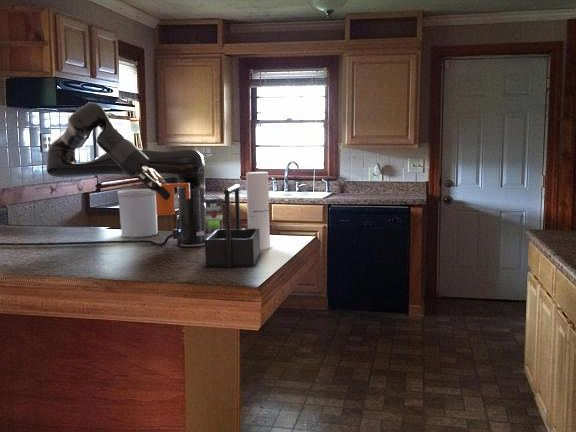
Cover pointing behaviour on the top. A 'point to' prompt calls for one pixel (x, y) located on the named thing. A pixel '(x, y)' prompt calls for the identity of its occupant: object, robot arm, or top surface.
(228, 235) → the basket
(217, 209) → the coffee can
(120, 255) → the top surface
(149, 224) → the utensil holder
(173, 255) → the top surface
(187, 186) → the measuring cup
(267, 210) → the cylindrical container
